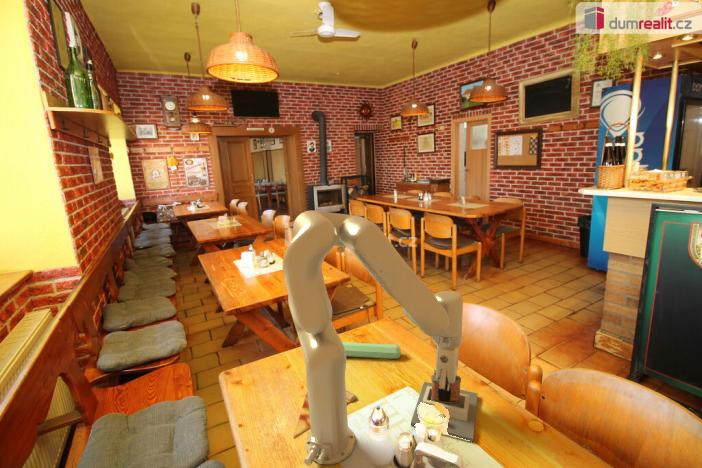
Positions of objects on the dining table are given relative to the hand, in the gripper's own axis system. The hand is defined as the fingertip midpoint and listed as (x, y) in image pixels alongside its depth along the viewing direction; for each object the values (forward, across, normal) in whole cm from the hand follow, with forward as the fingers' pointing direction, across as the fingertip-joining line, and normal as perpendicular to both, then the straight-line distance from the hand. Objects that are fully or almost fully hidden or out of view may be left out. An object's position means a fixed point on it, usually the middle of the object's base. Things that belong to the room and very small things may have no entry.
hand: (445, 394), depth 97 cm
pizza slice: (+6, -10, +38) cm, 40 cm away
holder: (+5, 0, 0) cm, 5 cm away
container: (+6, +18, +31) cm, 36 cm away
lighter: (+2, 0, 0) cm, 2 cm away
